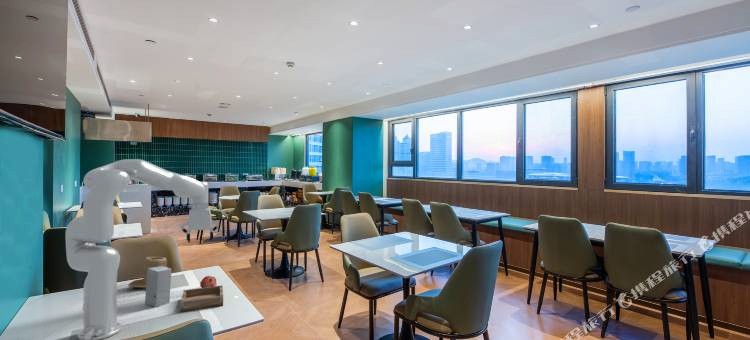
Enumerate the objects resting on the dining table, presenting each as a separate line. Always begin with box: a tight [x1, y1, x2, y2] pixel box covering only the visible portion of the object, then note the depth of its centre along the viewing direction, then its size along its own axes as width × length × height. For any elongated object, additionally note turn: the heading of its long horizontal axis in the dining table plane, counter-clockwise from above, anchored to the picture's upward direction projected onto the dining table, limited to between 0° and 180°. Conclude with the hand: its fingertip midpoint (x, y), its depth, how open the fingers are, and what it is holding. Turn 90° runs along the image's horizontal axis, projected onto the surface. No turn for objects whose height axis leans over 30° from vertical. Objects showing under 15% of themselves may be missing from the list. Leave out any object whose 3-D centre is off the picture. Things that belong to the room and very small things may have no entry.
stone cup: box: [127, 256, 168, 289], centre depth 176 cm, size 15×12×15 cm
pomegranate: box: [199, 275, 217, 288], centre depth 170 cm, size 7×7×10 cm
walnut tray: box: [179, 285, 224, 313], centre depth 155 cm, size 16×16×4 cm
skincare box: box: [144, 266, 172, 308], centre depth 153 cm, size 8×7×16 cm
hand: (200, 241), depth 170 cm, fingers open, 9 cm apart
